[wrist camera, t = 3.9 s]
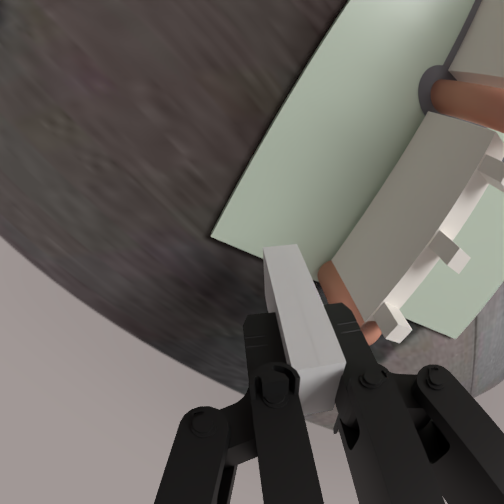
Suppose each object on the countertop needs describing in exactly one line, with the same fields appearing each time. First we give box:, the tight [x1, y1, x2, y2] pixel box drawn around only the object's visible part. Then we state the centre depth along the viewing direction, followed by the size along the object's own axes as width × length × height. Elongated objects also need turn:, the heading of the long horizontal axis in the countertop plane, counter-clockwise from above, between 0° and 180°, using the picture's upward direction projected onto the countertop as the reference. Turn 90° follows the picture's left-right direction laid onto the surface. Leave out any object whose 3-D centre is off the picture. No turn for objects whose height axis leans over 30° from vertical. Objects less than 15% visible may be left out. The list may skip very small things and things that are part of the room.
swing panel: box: [317, 111, 504, 345], centre depth 12 cm, size 11×2×6 cm, turn 151°
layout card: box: [211, 0, 504, 339], centre depth 15 cm, size 24×23×1 cm
